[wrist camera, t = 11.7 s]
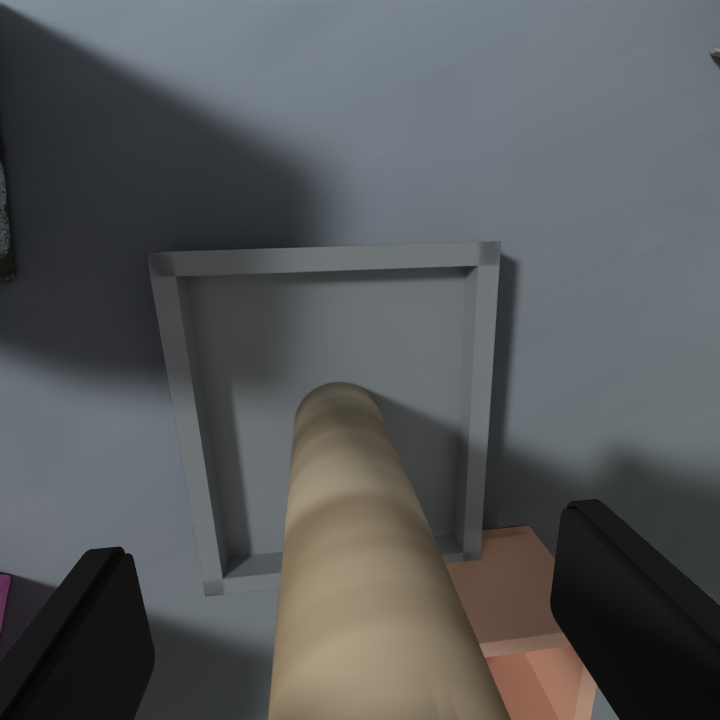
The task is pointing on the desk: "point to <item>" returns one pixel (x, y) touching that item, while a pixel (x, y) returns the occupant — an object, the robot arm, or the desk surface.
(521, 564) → the pink open box
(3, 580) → the gum box
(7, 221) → the chalk box
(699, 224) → the desk surface
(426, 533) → the dowel
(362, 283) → the tray
